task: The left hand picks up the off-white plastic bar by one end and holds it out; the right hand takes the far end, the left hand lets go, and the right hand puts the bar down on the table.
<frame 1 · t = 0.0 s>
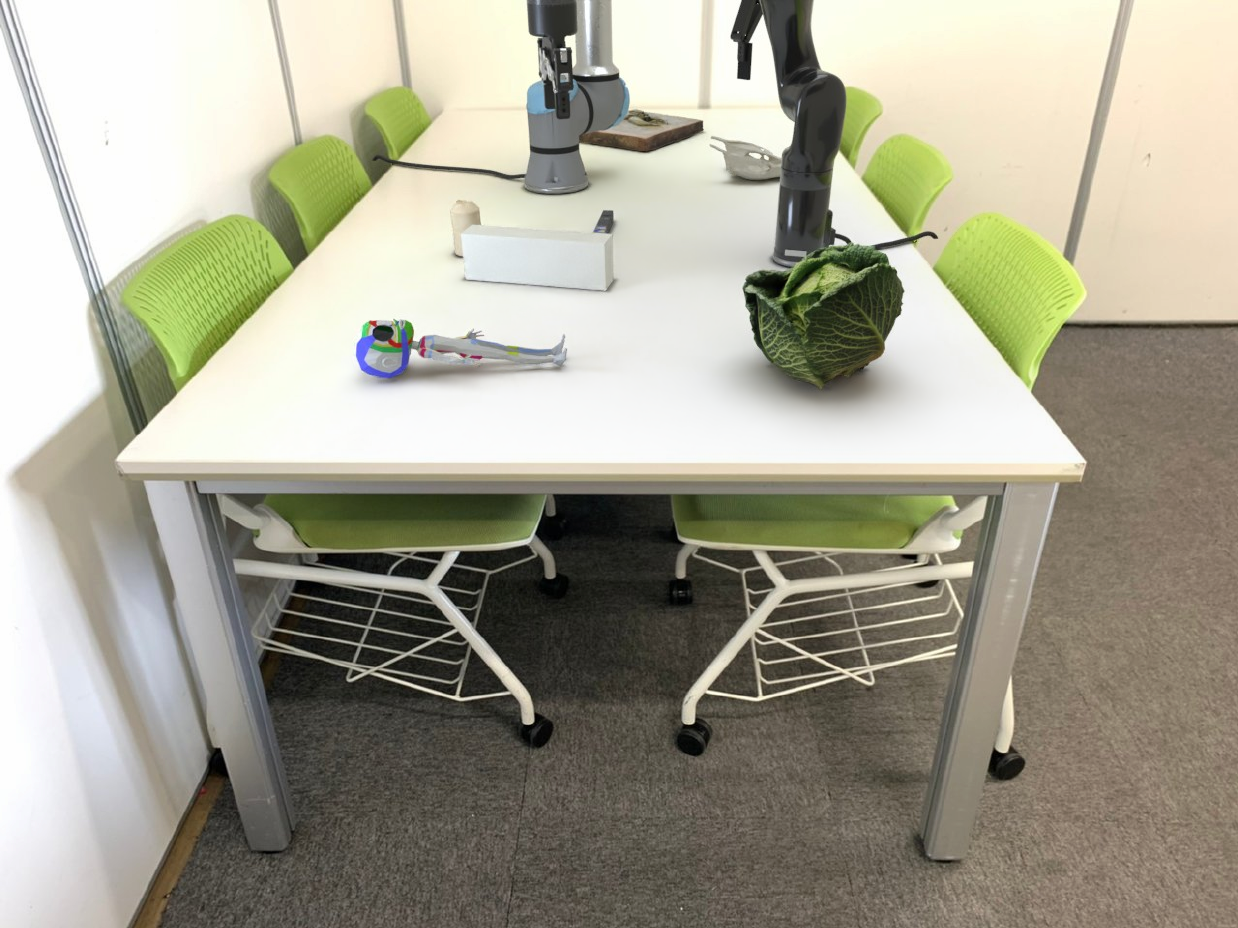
left hand: (764, 75, 179), 28 cm above the table, tool pointing down, fingers open, 13 cm apart
right hand: (557, 113, 143), 29 cm above the table, tool pointing down, fingers open, 8 cm apart
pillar: (602, 236, 183), on the table
vegetable: (817, 372, 129), on the table
anatomical model: (759, 177, 219), on the table
bar: (539, 279, 162), on the table
plaque: (633, 136, 259), on the table
toy: (464, 369, 132), on the table
candle: (469, 253, 175), on the table
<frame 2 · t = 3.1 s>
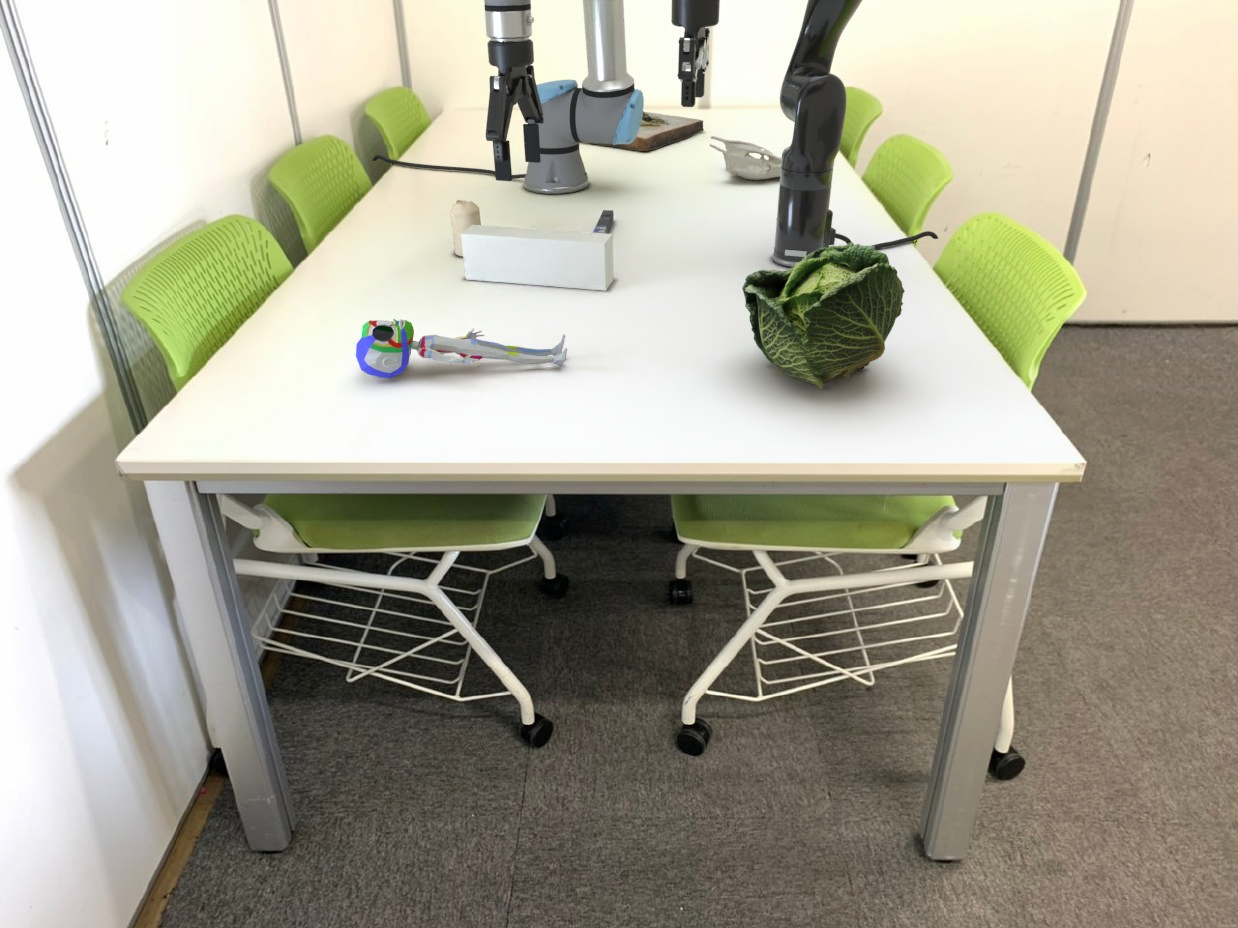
left hand: (519, 171, 159), 18 cm above the table, tool pointing down, fingers open, 13 cm apart
right hand: (692, 101, 148), 30 cm above the table, tool pointing down, fingers open, 8 cm apart
nothing on the table moved.
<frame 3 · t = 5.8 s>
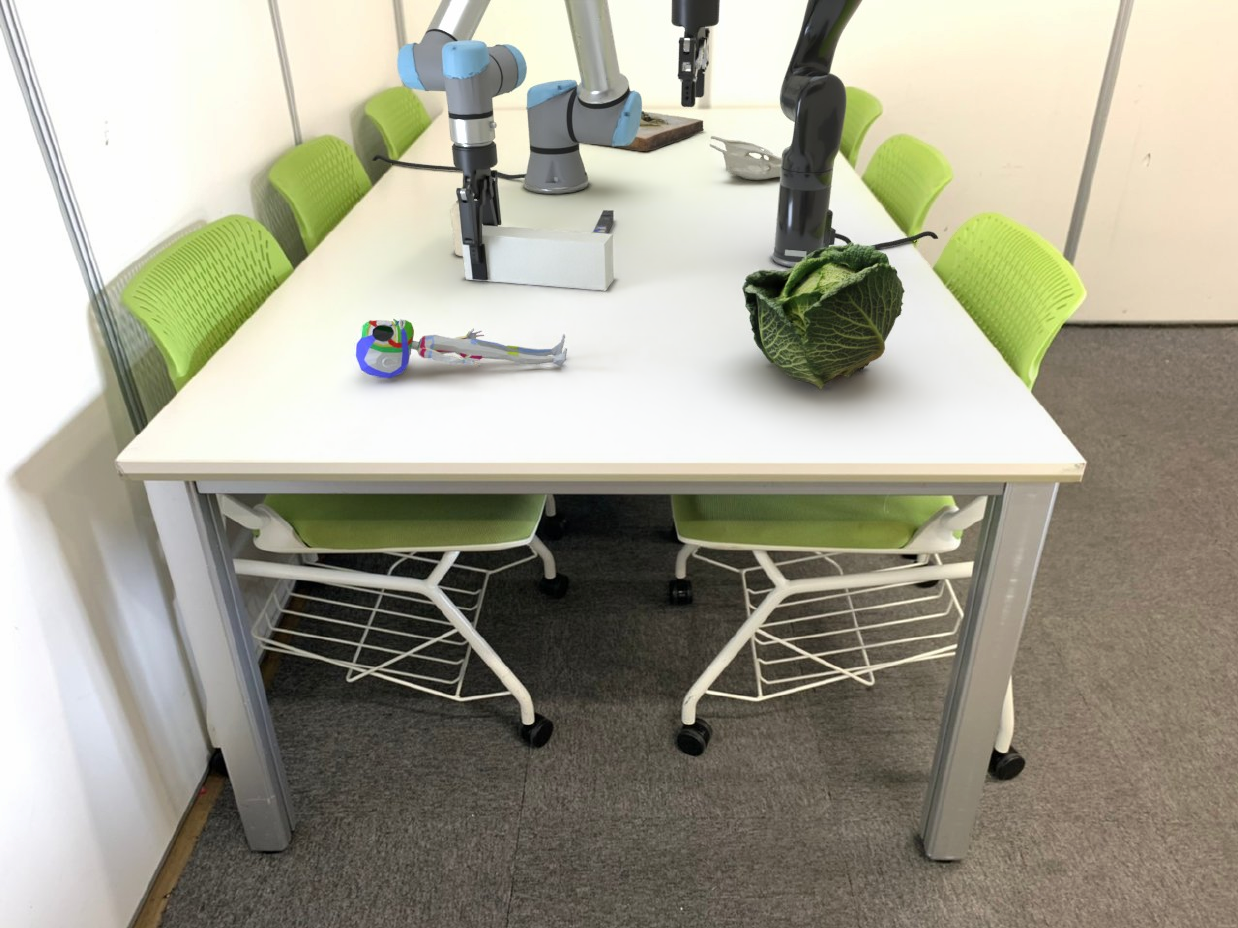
left hand: (486, 273, 164), 1 cm above the table, tool pointing down, fingers closed on bar, 5 cm apart
right hand: (692, 101, 148), 30 cm above the table, tool pointing down, fingers open, 8 cm apart
bar: (539, 279, 162), on the table, touching left hand
everything else where it was.
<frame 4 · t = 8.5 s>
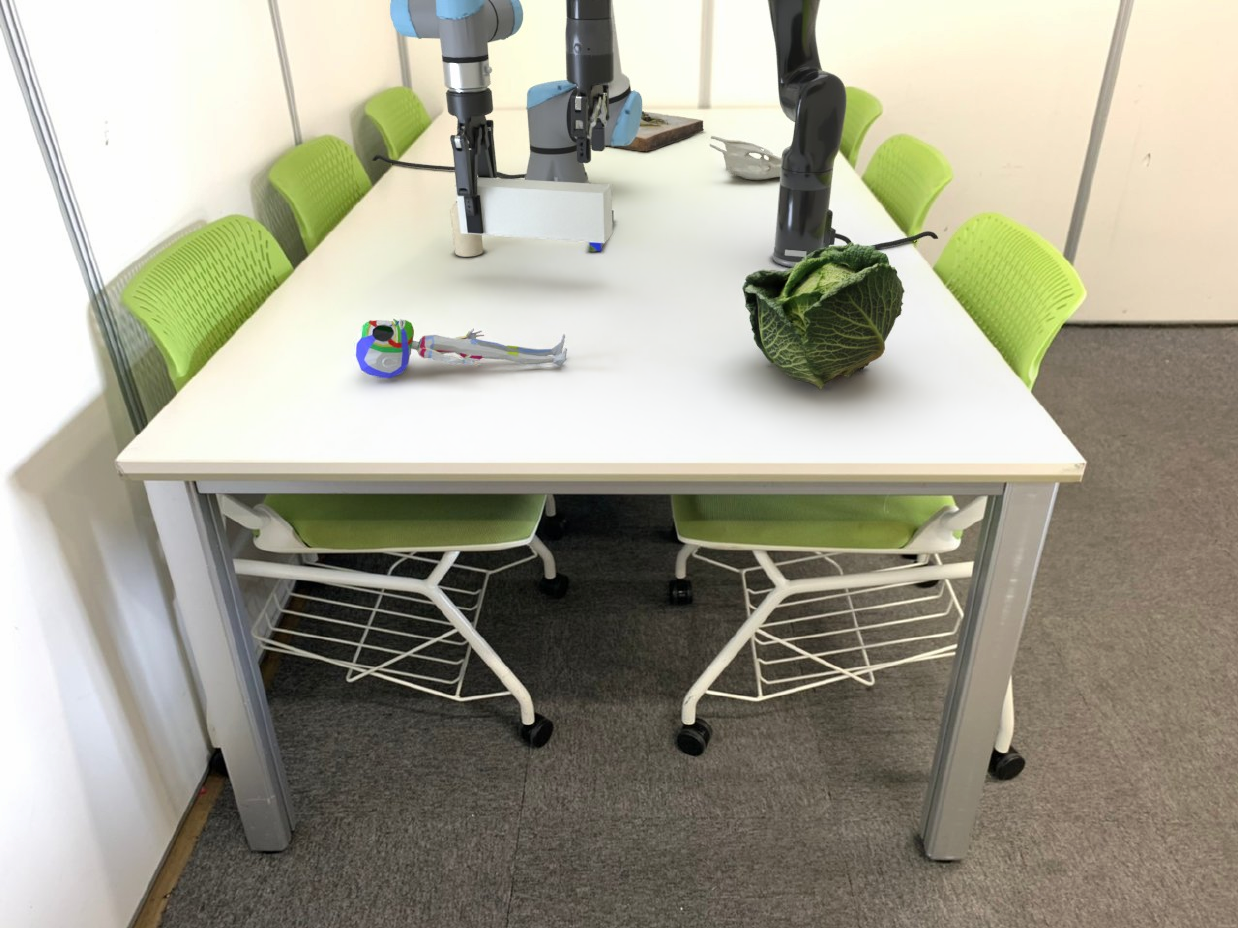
left hand: (482, 227, 160), 9 cm above the table, tool pointing down, fingers closed on bar, 5 cm apart
right hand: (591, 156, 149), 22 cm above the table, tool pointing down, fingers open, 8 cm apart
bar: (536, 233, 158), point 9 cm above the table, touching left hand
everything else where it was.
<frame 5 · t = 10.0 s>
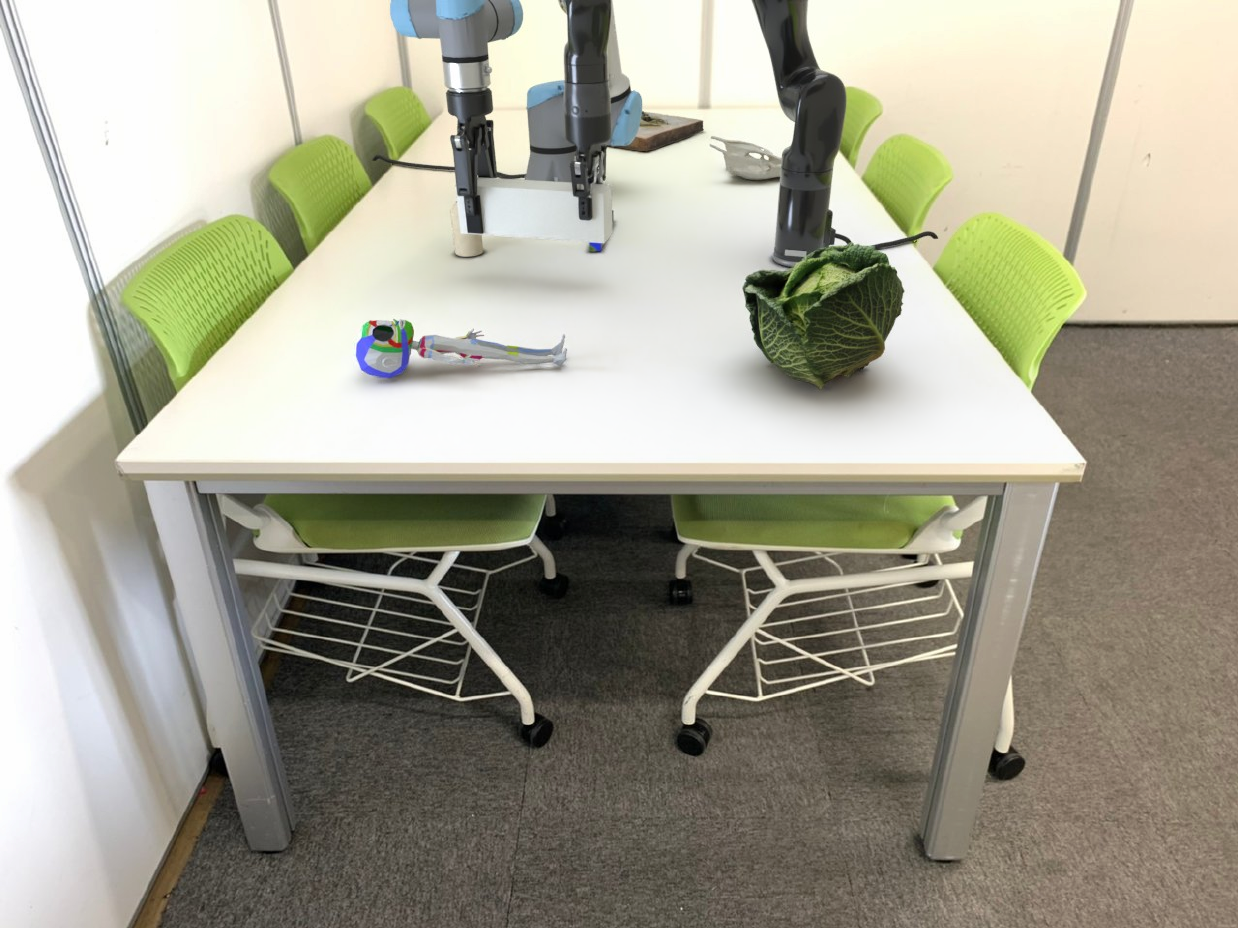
left hand: (482, 227, 160), 9 cm above the table, tool pointing down, fingers closed on bar, 5 cm apart
right hand: (590, 214, 154), 13 cm above the table, tool pointing down, fingers closed on bar, 5 cm apart
bar: (536, 233, 158), point 9 cm above the table, touching left hand, right hand
everything else where it was.
when the left hand's fingers open (9 cm above the table, at t = 11.0 s): bar stays where it is, held by the right hand.
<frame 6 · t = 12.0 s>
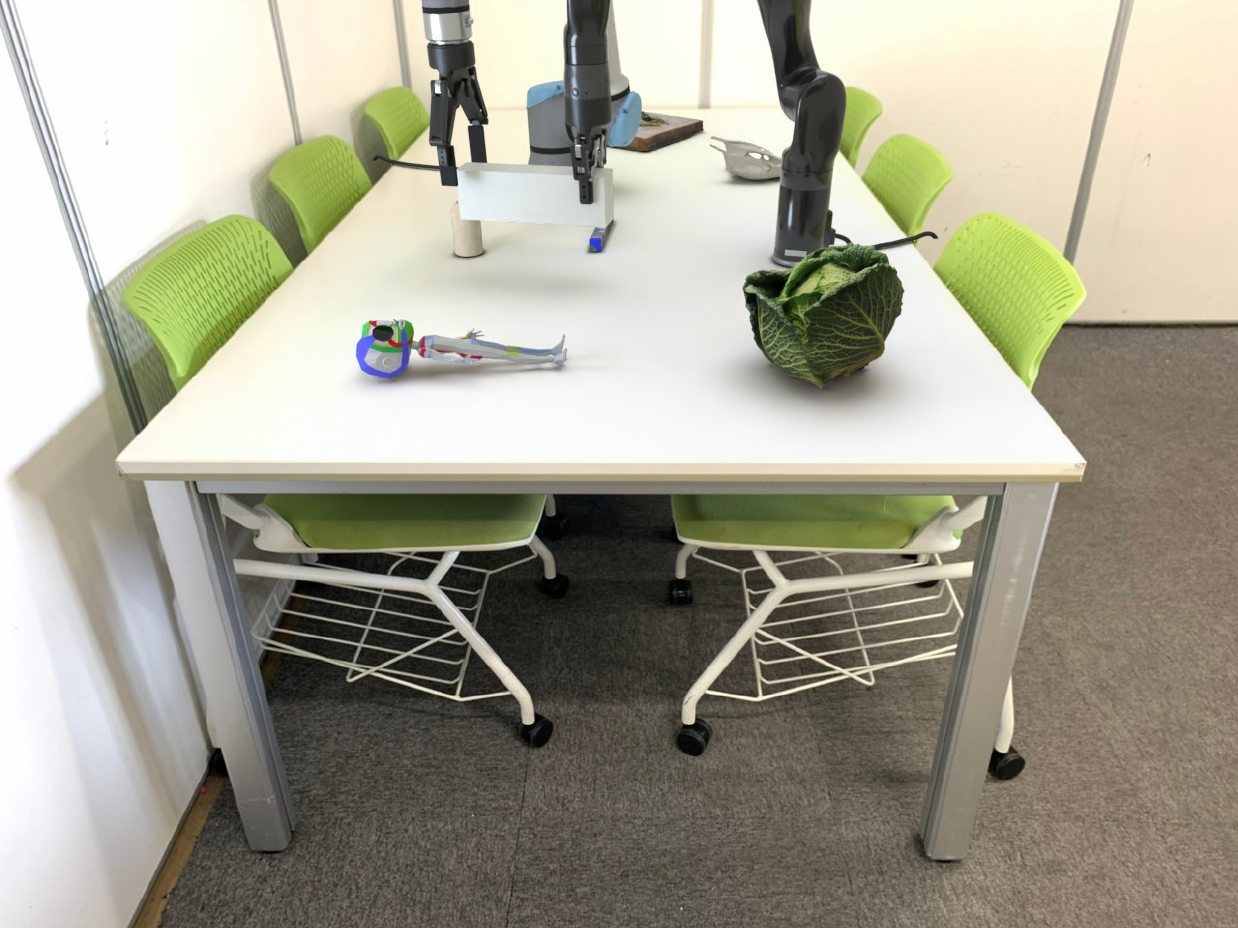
left hand: (465, 174, 156), 18 cm above the table, tool pointing down, fingers open, 13 cm apart
right hand: (591, 198, 152), 15 cm above the table, tool pointing down, fingers closed on bar, 5 cm apart
bar: (536, 218, 156), point 11 cm above the table, touching right hand
everything else where it was.
when the right hand's fingers open (6 cm above the table, at t = 15.2 s): bar drops 2 cm, on the table.
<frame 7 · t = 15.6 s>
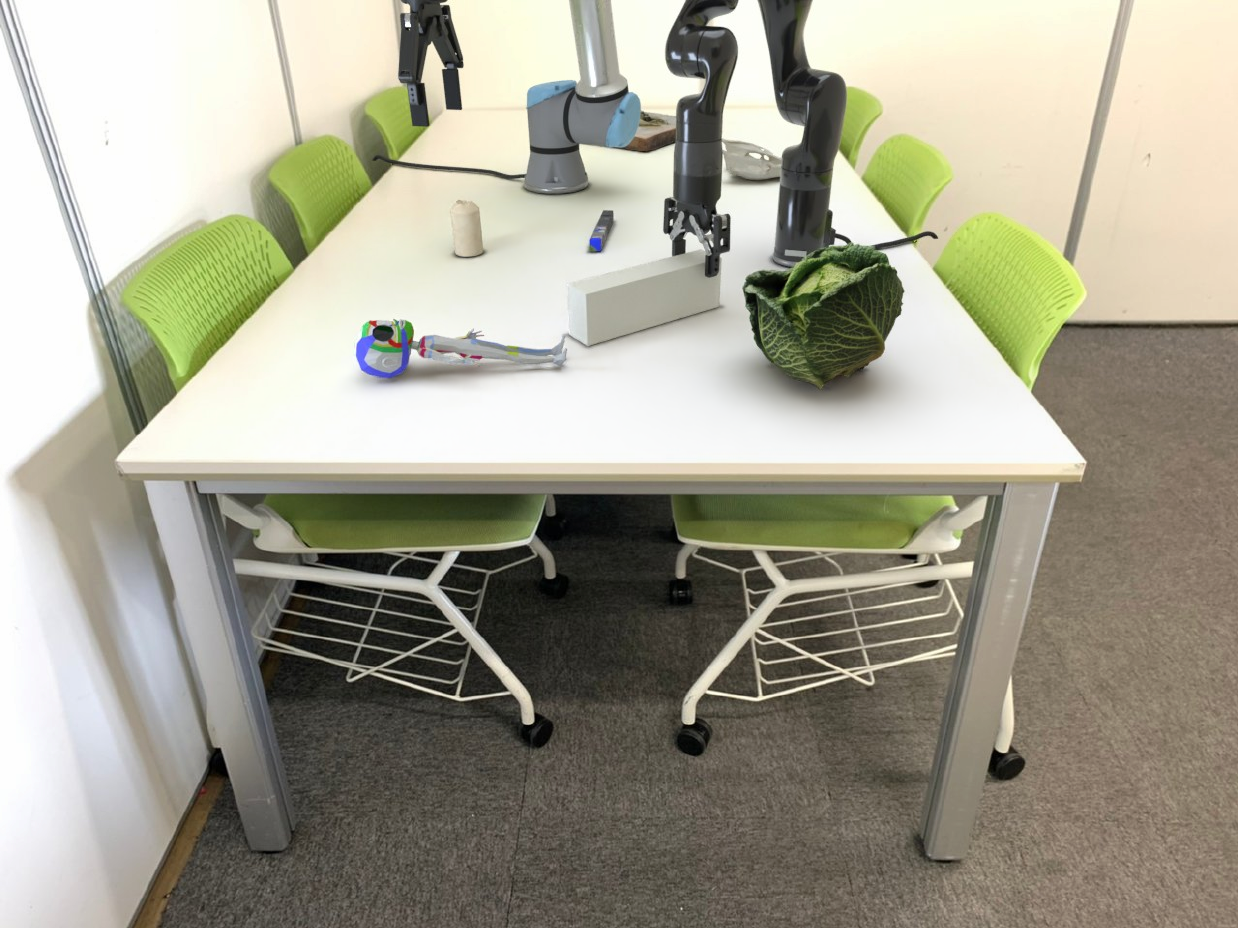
left hand: (438, 117, 151), 27 cm above the table, tool pointing down, fingers open, 13 cm apart
right hand: (694, 269, 147), 7 cm above the table, tool pointing down, fingers open, 8 cm apart
bar: (646, 320, 146), on the table
everything else where it was.
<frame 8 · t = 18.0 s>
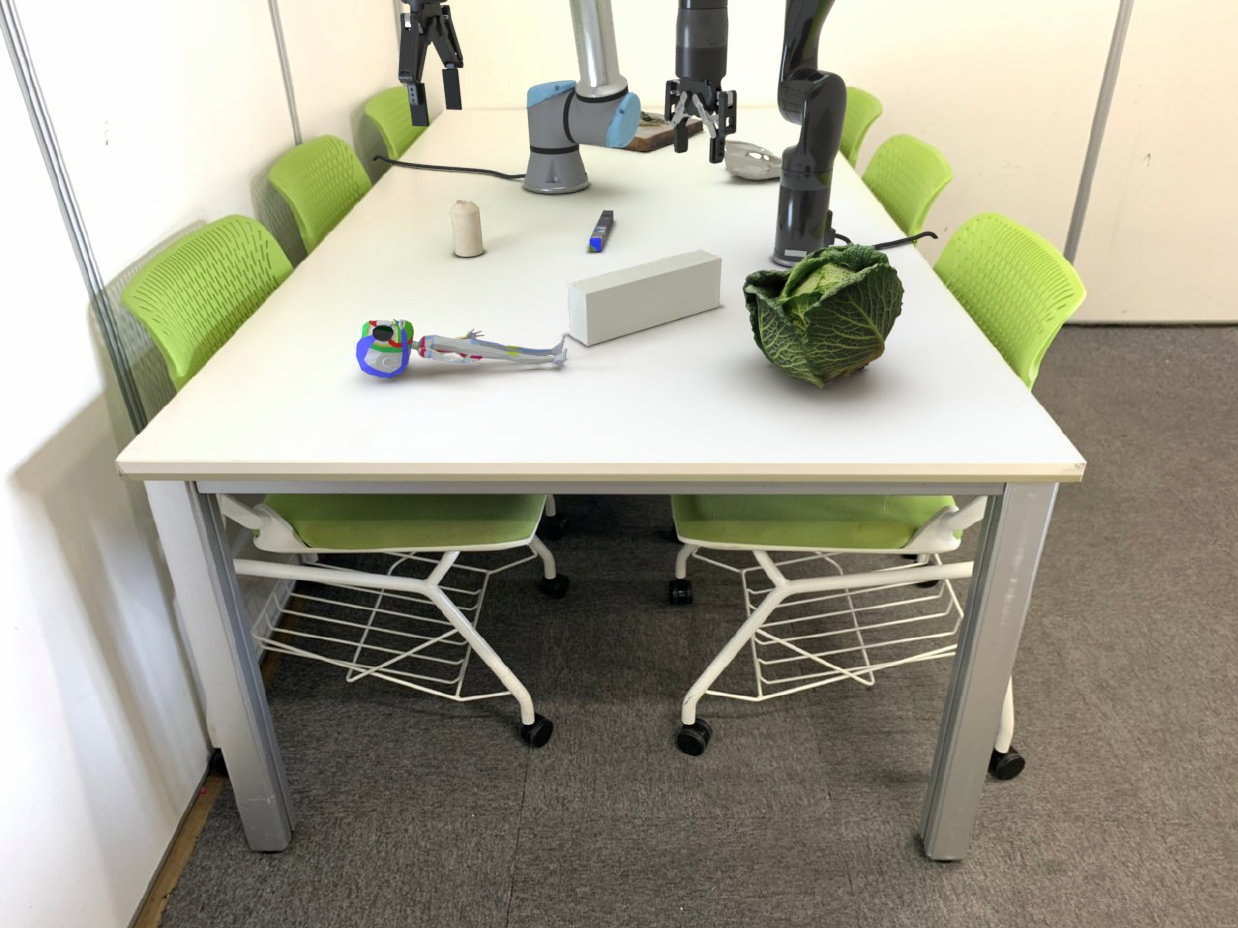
left hand: (438, 117, 151), 27 cm above the table, tool pointing down, fingers open, 13 cm apart
right hand: (698, 157, 138), 24 cm above the table, tool pointing down, fingers open, 8 cm apart
nothing on the table moved.
at the end: bar inside the target area (9.8 cm from its centre), on the table; the left hand is holding nothing; the right hand is holding nothing; bar at rest at the end (0.0 cm/s) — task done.
